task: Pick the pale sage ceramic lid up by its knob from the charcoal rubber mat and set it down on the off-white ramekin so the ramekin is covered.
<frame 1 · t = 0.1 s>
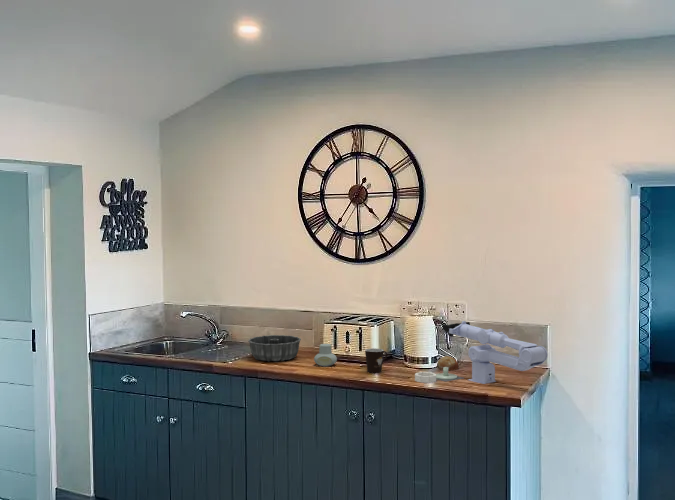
hand: (449, 326, 323), 22 cm above the worktop, tool horizontal, fingers open, 7 cm apart
coffee mug: (377, 372, 329), on the worktop
bundt pan: (274, 359, 361), on the worktop
mat: (445, 378, 314), on the worktop
air freshener: (325, 365, 344), on the worktop
bread roll: (447, 369, 334), on the worktop
lid: (445, 377, 314), resting on mat
ramekin: (425, 381, 309), on the worktop
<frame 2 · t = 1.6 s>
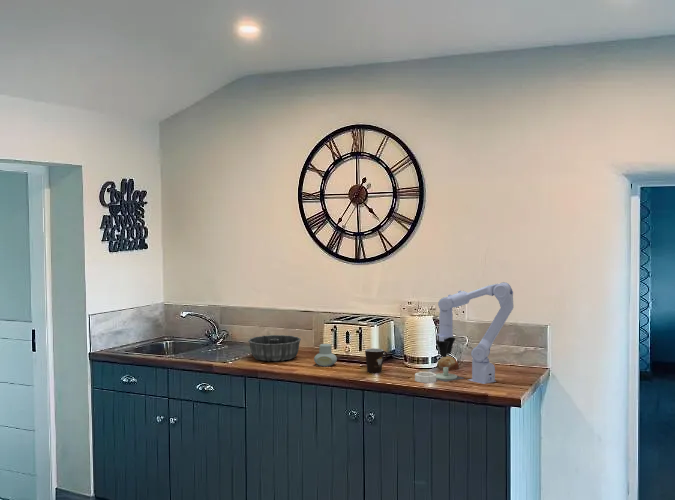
hand: (445, 355, 314), 10 cm above the worktop, tool pointing down, fingers open, 7 cm apart
nothing on the worktop moved.
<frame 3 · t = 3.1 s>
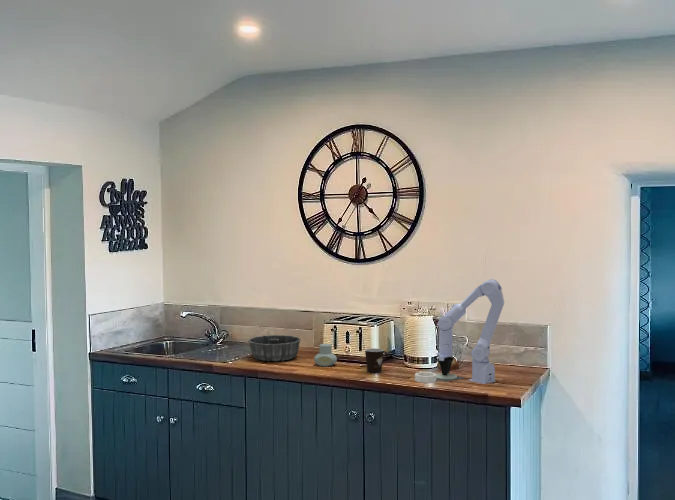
hand: (445, 374, 314), 2 cm above the worktop, tool pointing down, fingers closed on lid, 2 cm apart
lid: (445, 377, 314), resting on mat, touching gripper
everything else where it was.
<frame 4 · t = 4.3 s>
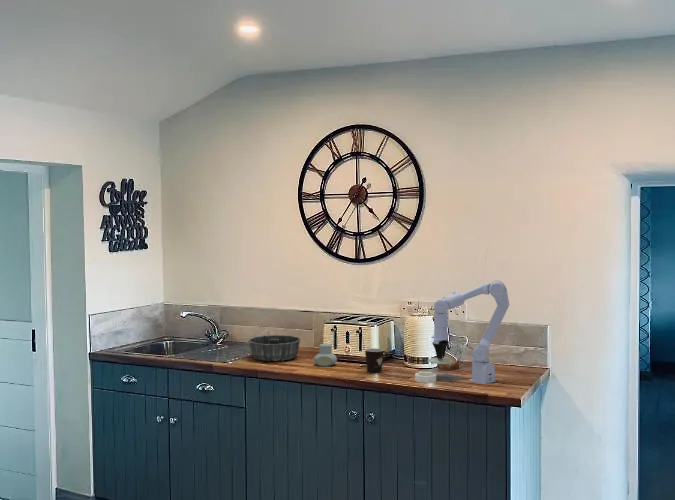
hand: (440, 358, 312), 9 cm above the worktop, tool pointing down, fingers closed on lid, 2 cm apart
lid: (440, 361, 313), point 8 cm above the worktop, touching gripper
everything else where it was.
when the fingers open (6 cm above the worktop, at t = 5.7 s): lid stays where it is, resting on ramekin.
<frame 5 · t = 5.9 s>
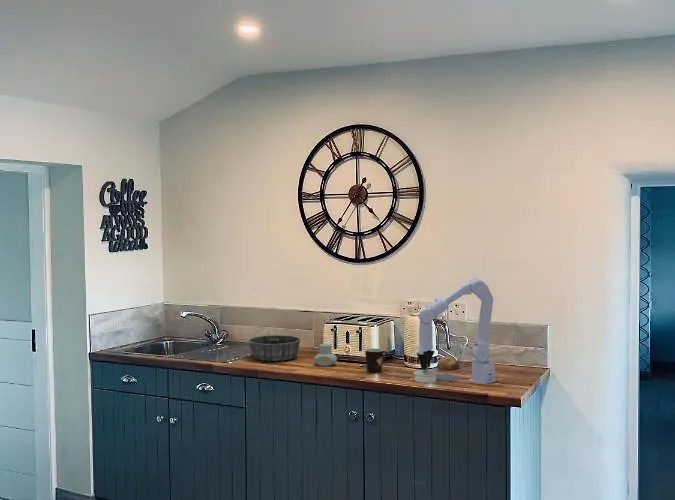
hand: (425, 368, 308), 6 cm above the worktop, tool pointing down, fingers open, 4 cm apart
lid: (425, 374, 308), point 3 cm above the worktop, touching ramekin
ramekin: (425, 381, 309), on the worktop, touching lid
everything else where it was.
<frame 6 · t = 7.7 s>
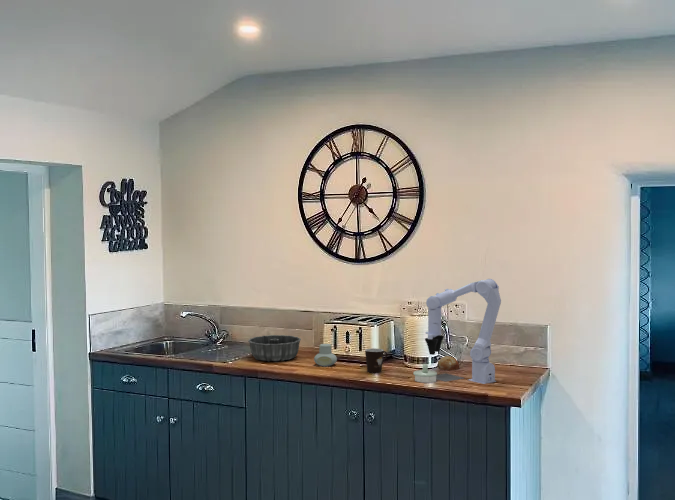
hand: (434, 353, 319), 10 cm above the worktop, tool pointing down, fingers open, 7 cm apart
nothing on the worktop moved.
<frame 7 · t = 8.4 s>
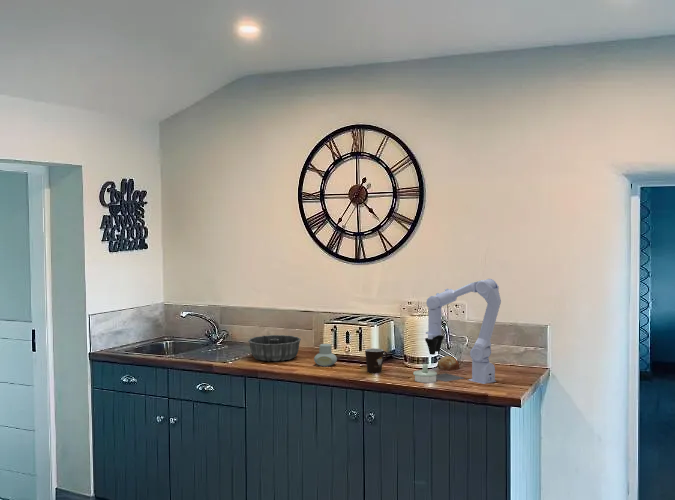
hand: (434, 353, 319), 10 cm above the worktop, tool pointing down, fingers open, 7 cm apart
nothing on the worktop moved.
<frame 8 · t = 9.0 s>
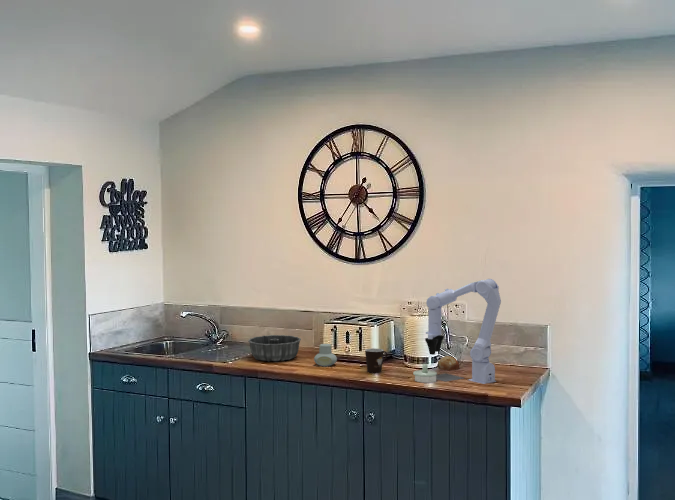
hand: (434, 353, 319), 10 cm above the worktop, tool pointing down, fingers open, 7 cm apart
nothing on the worktop moved.
at the end: lid 0.3 cm off-centre on the ramekin, point 3.2 cm above the ramekin's base; lid tilted 0°; the gripper is holding nothing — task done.
